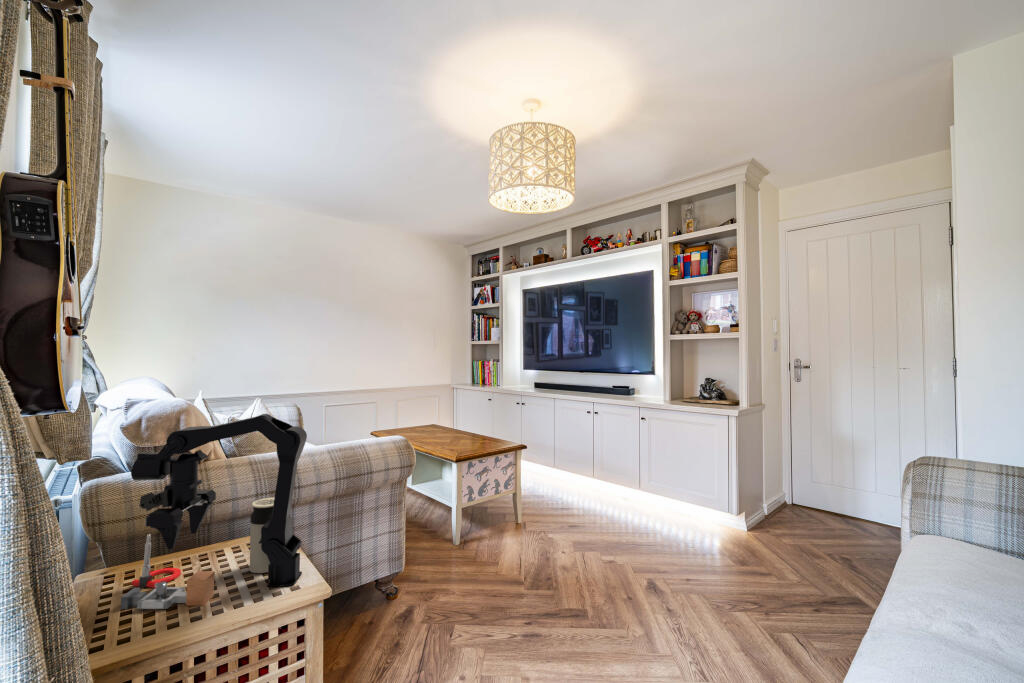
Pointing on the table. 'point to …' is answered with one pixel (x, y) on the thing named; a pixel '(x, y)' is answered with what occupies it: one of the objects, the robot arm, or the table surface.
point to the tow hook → (147, 575)
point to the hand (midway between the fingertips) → (182, 540)
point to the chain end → (183, 593)
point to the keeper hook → (142, 595)
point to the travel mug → (259, 534)
